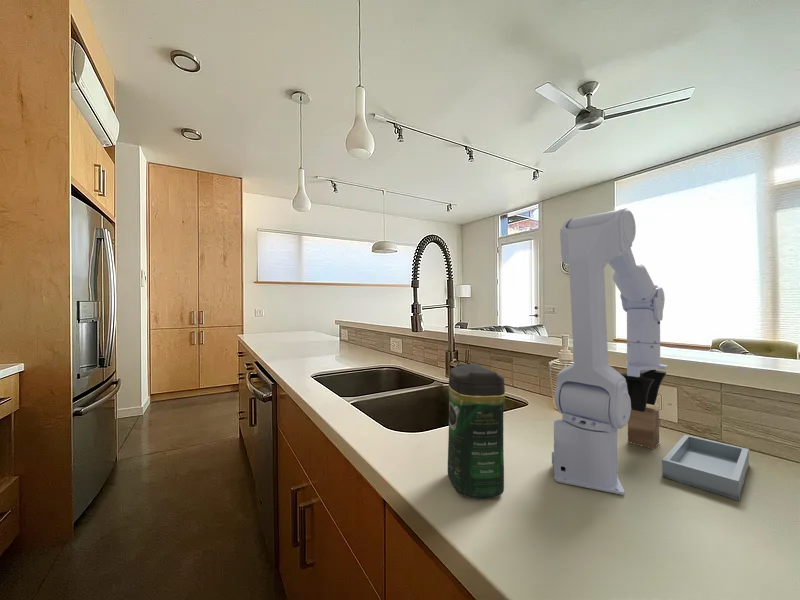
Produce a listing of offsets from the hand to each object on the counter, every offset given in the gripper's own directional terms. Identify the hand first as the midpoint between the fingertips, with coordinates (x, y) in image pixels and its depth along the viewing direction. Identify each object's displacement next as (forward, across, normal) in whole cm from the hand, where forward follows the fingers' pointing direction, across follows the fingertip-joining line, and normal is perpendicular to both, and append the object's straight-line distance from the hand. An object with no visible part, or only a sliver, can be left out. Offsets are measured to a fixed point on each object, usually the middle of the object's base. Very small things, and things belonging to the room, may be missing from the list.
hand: (643, 407), depth 70 cm
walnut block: (+8, 0, 0) cm, 8 cm away
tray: (+7, -6, -11) cm, 14 cm away
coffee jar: (+8, -42, +12) cm, 44 cm away
